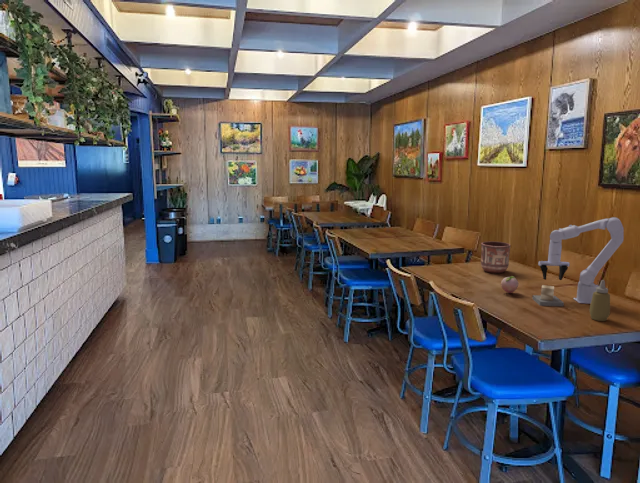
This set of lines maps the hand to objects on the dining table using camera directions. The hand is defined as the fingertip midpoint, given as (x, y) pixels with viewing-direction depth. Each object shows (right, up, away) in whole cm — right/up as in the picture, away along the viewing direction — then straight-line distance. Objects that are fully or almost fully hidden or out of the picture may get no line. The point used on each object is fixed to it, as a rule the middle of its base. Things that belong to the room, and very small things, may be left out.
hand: (552, 279), depth 237 cm
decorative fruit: (-19, -8, +8) cm, 23 cm away
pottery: (-9, 0, +56) cm, 57 cm away
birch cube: (-7, -9, -7) cm, 13 cm away
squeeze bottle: (+5, -15, -32) cm, 36 cm away
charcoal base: (-6, -11, -7) cm, 15 cm away
